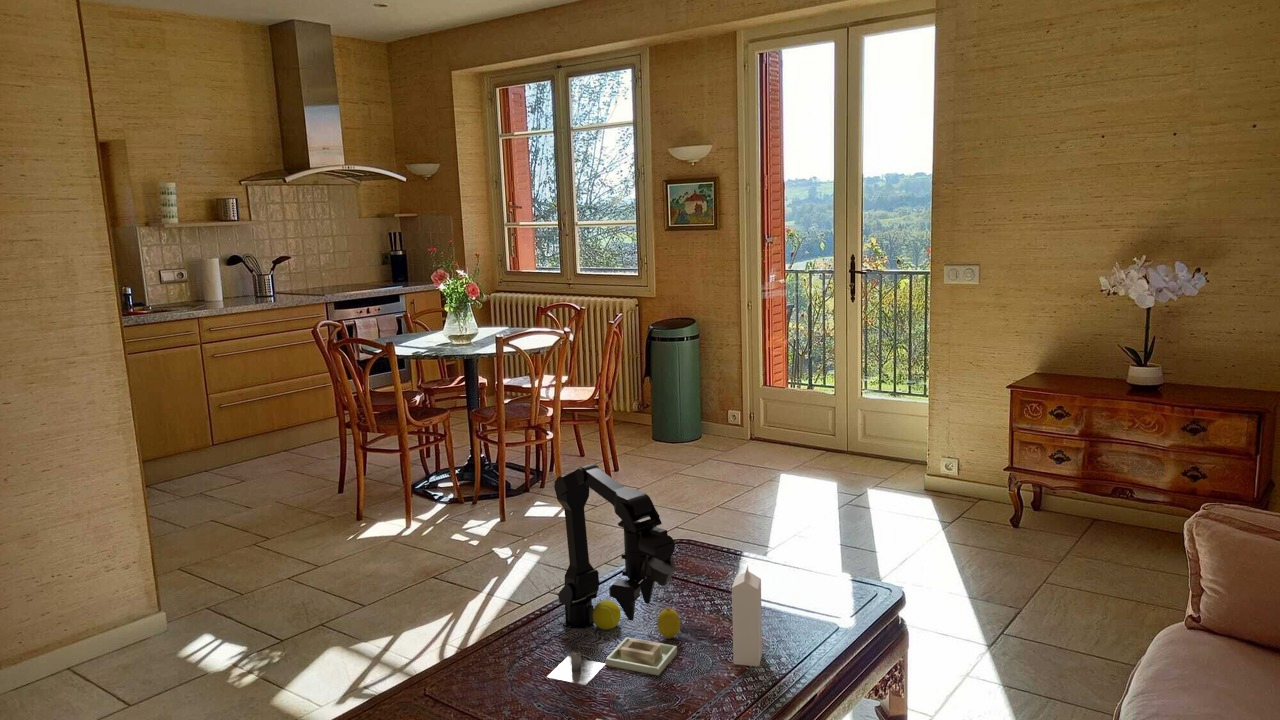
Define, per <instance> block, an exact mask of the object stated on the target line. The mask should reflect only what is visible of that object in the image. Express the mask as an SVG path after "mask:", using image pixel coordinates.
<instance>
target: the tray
mask: <svg viewBox="0 0 1280 720" xmlns="http://www.w3.org/2000/svg"><path fill="white" fill-rule="evenodd" d="M631 638H632V639H635V638H633V637H629V636H626V637H625V638H624V639H623V640H622V641H621V642H620V643H619V644H618V645H617V646H616V647H615V648H614V650H613V651H612V652H611V653H610V654H609V655H608V656H607V657H606V658H605V665H606V666H608V667H612V668H617V669H623V670H629V671H633V672H638V673H643V674H648V675H653V676H660V674H661V673H662V672H663V671H664V670H665V668H666V667H667V666H668V665H669V664H671V663H672V661H673V659H675V657H676V656H677V654H678V646H677V645H673V644H667V643H662V642H659V643H660V644H662V657H661V658H660V659H659V660H658V661H657V663H656V664H655V665H654V666H648V665H643V664H638V663H633V662H627V661H622V660H621V656H618V649H619V648H620V646H622V647H623V646H624V645H625V644H626V643H627V642H628V641H629V640H630V639H631ZM637 639H638V638H637ZM638 640H641V639H638ZM642 640H643V641H646V640H645V639H642ZM648 641H649V642H652V641H650V640H648ZM653 642H654V643H658V642H657V641H653Z"/></svg>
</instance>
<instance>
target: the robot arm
mask: <svg viewBox="0 0 1280 720" xmlns="http://www.w3.org/2000/svg"><path fill="white" fill-rule="evenodd" d="M553 488H554V492H555V496H556V500H557V502H558V503H559V504H560V505H561V507H562V508H563V509H564V518H565V527H566V529H565V532H566V538H567V539H566V540H567V549H568V559H569V560H568V561H569V565H568V567H567V569H566V572H565V574H564V585H563V587H562V588H561V590H560V591H559V592H558V593H557V597H558V600H559V603H560V604H562V605H564V613H565V614H564V615H565V621H563V623H562V626H563V627H568V628H574V629H577V630H578V629H582V630H585V629H586V628H588V627H589V626H590V625H591V624H592V623H594V620H593V610H594V608H595V606H594V605H593V602H592V600H593V599H596V598H597V596H598V591H599V589H600V586H601V583H600V578H599V574H600V573H599V571H598V569H595V568H594V567H593V565H592V564H591V563H590V555H589V545H588V536H587V525H586V514H585V513H586V512H585V506H586V505H587V502H588V500H589V498H590V489H591V490H592V491H594V492H595V493H596V494H598V495H599V496H601V497H602V498H603V499H604V500H606V501H607V502H608V503H610V505H612V506H613V509H614V513H615V515H617V516H618V517H619V518H620V521H619V522H618V523H617V525H618V527H621V528H623V540H624V541H623V545H624V552H622V553H621V560H624V569H623V570H622V571H621V573H622V574H621V575H622V576H623V577H627V578H628V579H622V578H618V579H617V580H616V581H615V582H613V583H612V585H611V586H609V588H608V590H609V591H608V592H609V597H610V598H613V599H615V600H616V601H617V603H618V604H619V606H620V608H621V609H622V611H623V612H624V614H625V616H626V618H627V619H628V621H632V622H633V620H634V617H635V612H636V611H635V610H636V609H635V607H636V601H637V600H638V599H639V597H641V595H642V598H643V601H644V603H645V604H648V605H649V604H650V603H651V600H652V597H653V590H654V588H655V584H656V583H657V584H658V585H659V586H662V587H663V586H664V587H665V586H666V585H667V583H669V582H671V579H672V577H673V574H674V572H676V565H675V561H674V560H675V559H674V557H673V554H674V553H675V549H676V542H675V541H674V538H673V537H672V536H670V535H669V534H668V530H667V529H665V528H660V527H658V526H660V525H662V521H661V518H660V514H659V512H658V511H657V510H656V508H655V505H654V503H653V500H652V499H651V497H650V496H649V495H648V494H647V493H645V492H643V491H641V490H638V489H635V488H628V487H625V486H624V485H623V484H621V483H619V482H618V481H617V480H615V479H614V478H612V477H611V476H610V475H609V474H607V473H606V472H604V471H603V470H601V469H600V467H599V466H598V464H594V463H592V464H587V465H583V466H579V467H578V468H577V469H575V470H574V471H572V472H570V473H567V474H564V475H560V476H559V475H558V476H557V478H556V479H555V480H554V485H553ZM646 518H649V519H646ZM644 519H645V520H644ZM640 520H641V521H640ZM640 593H641V594H640Z"/></svg>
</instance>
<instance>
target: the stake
mask: <svg viewBox="0 0 1280 720" xmlns="http://www.w3.org/2000/svg"><path fill="white" fill-rule="evenodd" d="M605 665H606V662H605V663H604V662H598V661H594V660H588V659H584V658H582V657H581V651H579V650H573V651H572V652H571V653H570V656H568V655H567V657H565V658H564V660H563V661H562V662H561V663H559V664H558V666H556V667H555V668H554V669H553V670H552V671H551V672H550V673H549V674H548V675H547V676H546V678H549V679H554V680H560V681H564V682H568V683H572V684H578V685H582V686H587V685H588V683H590V681H592V679H594V677H595V676H596V675H597V674H598V673H599V672H600V671H601V670H602V669H603V667H604V666H605Z"/></svg>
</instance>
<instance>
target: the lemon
mask: <svg viewBox="0 0 1280 720" xmlns="http://www.w3.org/2000/svg"><path fill="white" fill-rule="evenodd" d="M657 628H658V631H659V633H660V635H661V636H662V637H664V638H667V639H668V640H670V639H672V638H674V637H676V636H677V635H678V634H679V631H680V629H681V619H680V615H679V613H678V612H677V611H676V610H674V609H672V608H670V607H666V608H664V609H663V610H661V612H660V613H659V615H658V616H657Z"/></svg>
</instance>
